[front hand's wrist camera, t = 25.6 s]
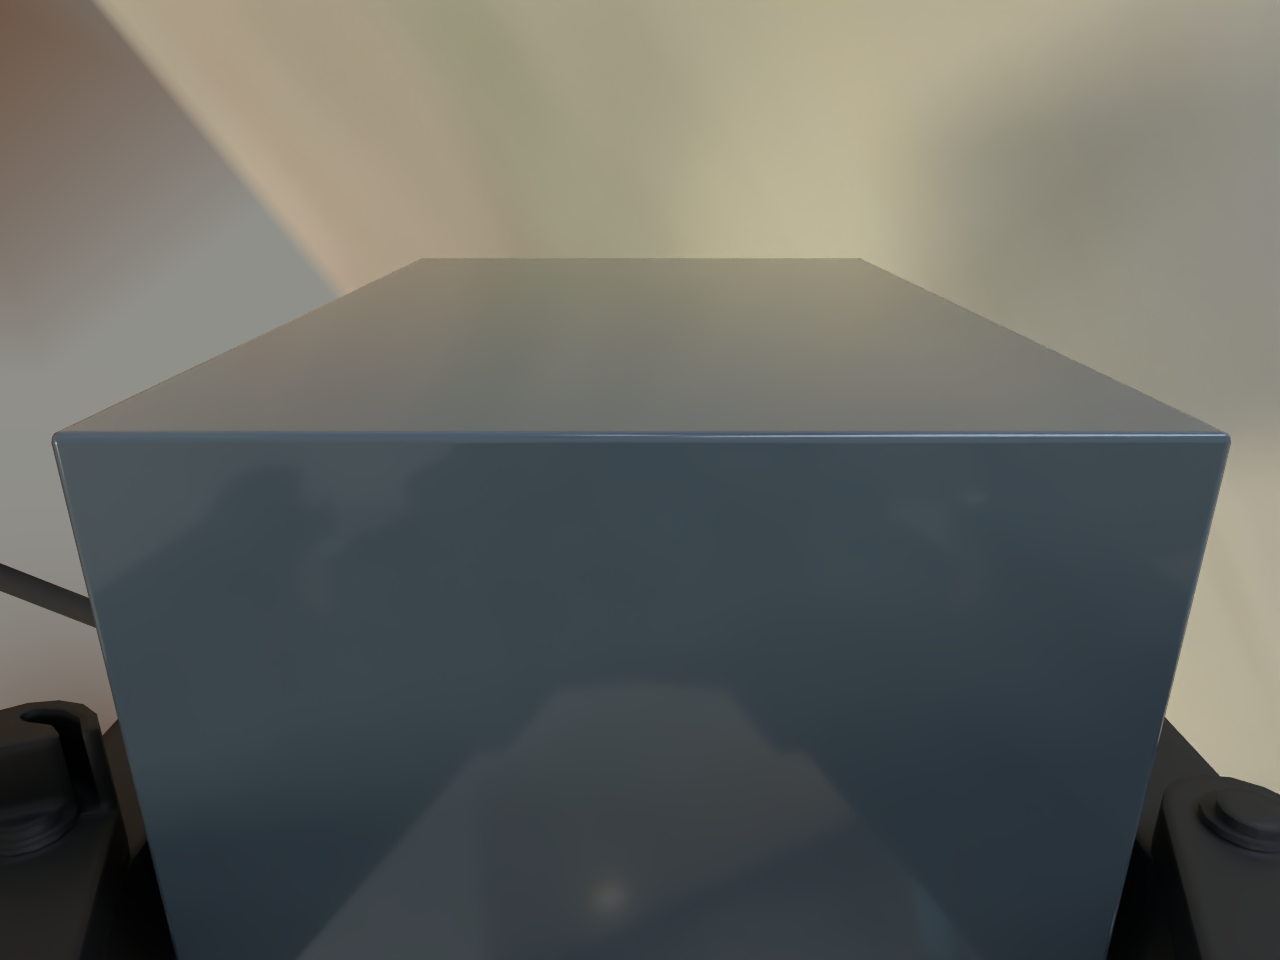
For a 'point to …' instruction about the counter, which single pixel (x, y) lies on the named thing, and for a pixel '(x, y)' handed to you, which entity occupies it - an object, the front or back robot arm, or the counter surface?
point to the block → (641, 619)
